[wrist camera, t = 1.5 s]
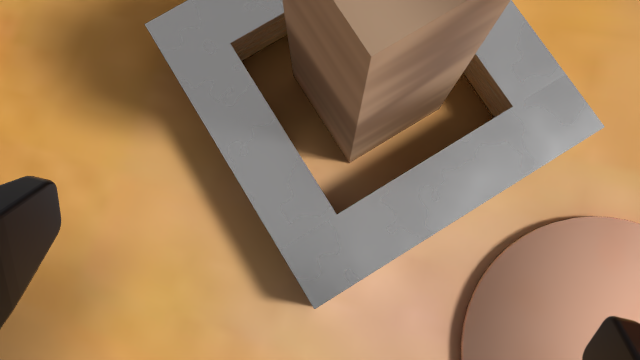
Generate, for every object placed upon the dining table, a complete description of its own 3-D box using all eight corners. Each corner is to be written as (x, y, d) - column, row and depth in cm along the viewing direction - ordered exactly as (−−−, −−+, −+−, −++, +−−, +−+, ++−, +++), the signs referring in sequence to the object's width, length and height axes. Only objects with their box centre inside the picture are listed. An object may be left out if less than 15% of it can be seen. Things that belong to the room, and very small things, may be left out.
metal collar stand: (315, 307, 22) (314, 309, 20) (159, 45, 24) (144, 24, 22) (580, 140, 23) (604, 126, 21) (409, -96, 25) (417, -128, 23)
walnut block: (349, 163, 23) (371, 56, 12) (293, 75, 24) (267, -98, 13) (439, 108, 23) (537, -41, 13) (381, 24, 24) (428, -186, 13)
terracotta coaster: (571, 575, 20) (576, 580, 20) (406, 310, 22) (407, 310, 21) (805, 408, 21) (814, 410, 21) (629, 167, 23) (634, 165, 22)
